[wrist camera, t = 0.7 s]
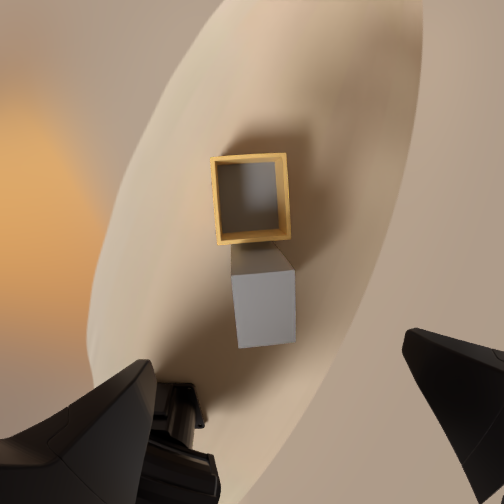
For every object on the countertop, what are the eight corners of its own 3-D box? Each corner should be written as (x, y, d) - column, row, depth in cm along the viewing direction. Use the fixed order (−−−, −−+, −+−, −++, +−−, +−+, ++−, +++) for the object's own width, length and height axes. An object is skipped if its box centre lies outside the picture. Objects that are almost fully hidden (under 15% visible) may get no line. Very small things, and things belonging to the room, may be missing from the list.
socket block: (281, 230, 20) (291, 239, 17) (219, 235, 20) (217, 245, 17) (276, 159, 19) (285, 152, 16) (213, 163, 19) (210, 157, 16)
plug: (273, 289, 21) (295, 342, 14) (235, 293, 21) (238, 348, 14) (271, 239, 21) (294, 269, 13) (231, 242, 20) (230, 275, 13)
